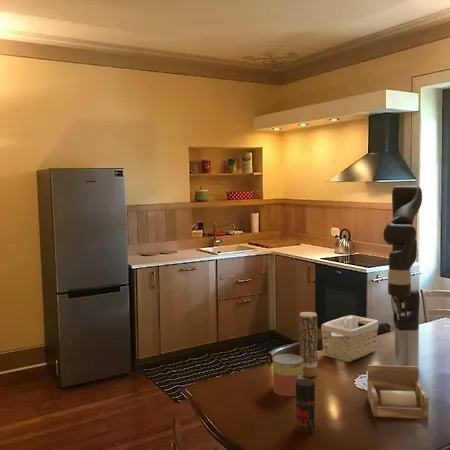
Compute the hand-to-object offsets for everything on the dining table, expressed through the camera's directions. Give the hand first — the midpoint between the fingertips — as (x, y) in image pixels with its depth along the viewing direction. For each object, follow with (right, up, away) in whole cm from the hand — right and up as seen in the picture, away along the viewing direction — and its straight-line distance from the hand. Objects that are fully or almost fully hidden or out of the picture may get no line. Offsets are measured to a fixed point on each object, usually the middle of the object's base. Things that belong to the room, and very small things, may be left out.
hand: (399, 326), depth 181 cm
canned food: (-38, -26, +12) cm, 47 cm away
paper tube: (-27, -25, +27) cm, 46 cm away
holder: (-3, -27, -5) cm, 27 cm away
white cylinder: (-3, -23, -7) cm, 24 cm away
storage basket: (-5, -23, +51) cm, 56 cm away
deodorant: (-36, -29, -19) cm, 50 cm away
